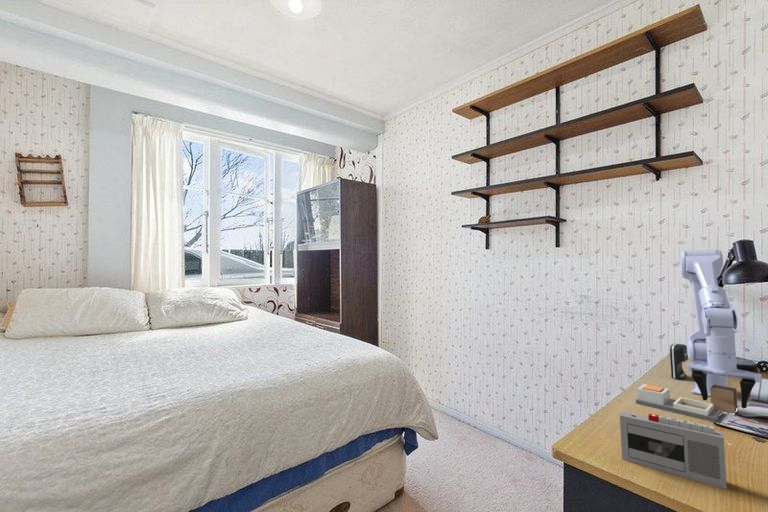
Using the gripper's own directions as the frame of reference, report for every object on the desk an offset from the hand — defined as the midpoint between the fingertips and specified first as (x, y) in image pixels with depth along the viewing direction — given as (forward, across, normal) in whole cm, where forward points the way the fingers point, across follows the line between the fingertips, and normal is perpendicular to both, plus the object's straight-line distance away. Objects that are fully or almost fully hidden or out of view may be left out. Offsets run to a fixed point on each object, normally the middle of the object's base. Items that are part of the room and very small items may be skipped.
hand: (724, 403), depth 96 cm
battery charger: (+2, -15, +26) cm, 30 cm away
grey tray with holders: (+2, -8, -7) cm, 11 cm away
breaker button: (+1, -14, -7) cm, 15 cm away
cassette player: (+2, -1, -44) cm, 44 cm away
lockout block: (+2, 0, 0) cm, 2 cm away
